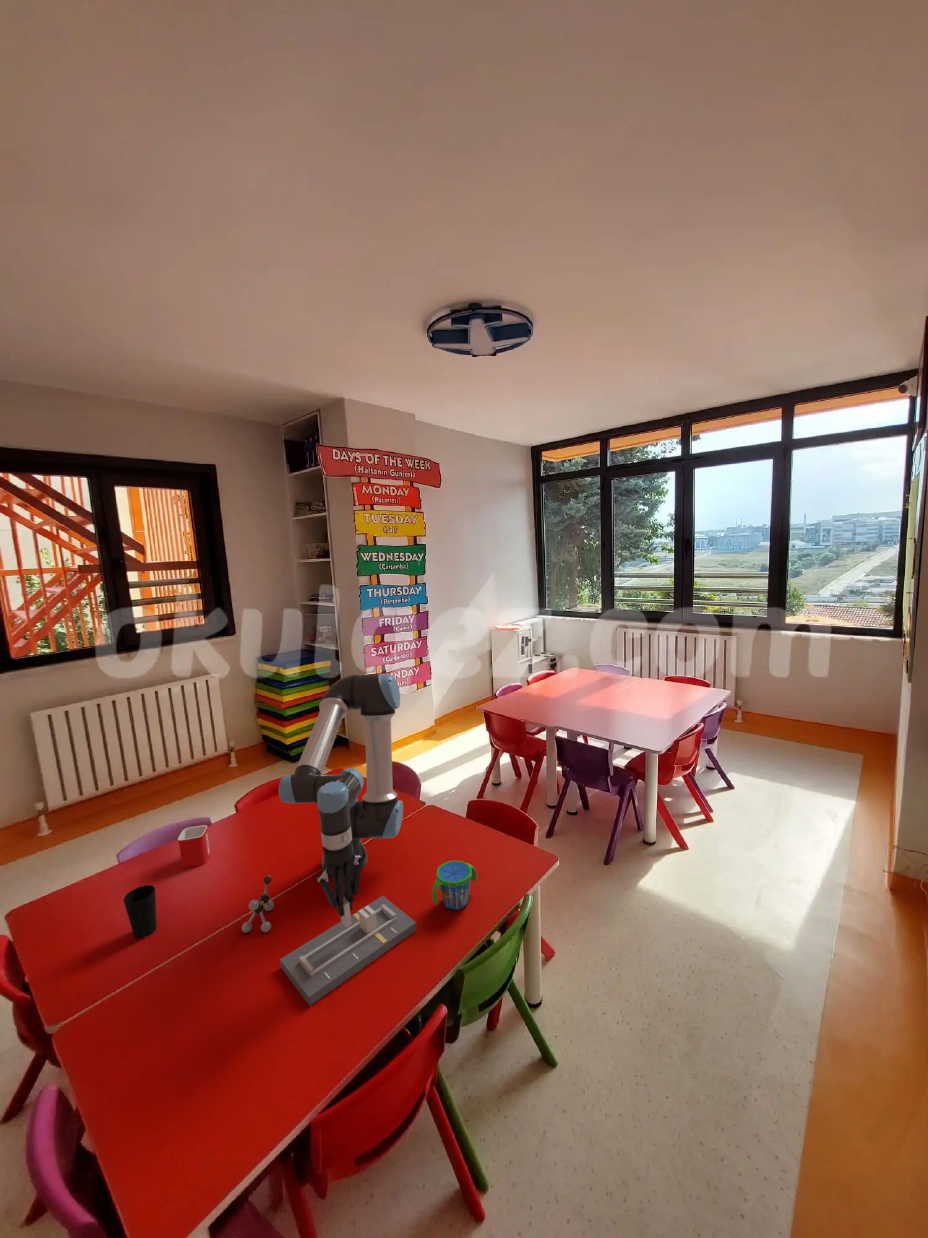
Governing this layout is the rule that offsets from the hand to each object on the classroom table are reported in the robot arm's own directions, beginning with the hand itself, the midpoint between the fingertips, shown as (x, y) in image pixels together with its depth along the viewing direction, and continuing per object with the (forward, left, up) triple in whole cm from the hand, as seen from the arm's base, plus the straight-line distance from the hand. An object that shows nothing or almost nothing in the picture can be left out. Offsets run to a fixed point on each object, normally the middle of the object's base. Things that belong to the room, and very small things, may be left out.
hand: (346, 923), depth 133 cm
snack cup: (+8, +31, -8) cm, 34 cm away
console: (0, 0, -8) cm, 8 cm away
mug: (-78, -16, -8) cm, 80 cm away
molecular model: (-29, -12, -8) cm, 32 cm away
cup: (-50, -38, -8) cm, 63 cm away
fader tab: (0, +6, -5) cm, 8 cm away
